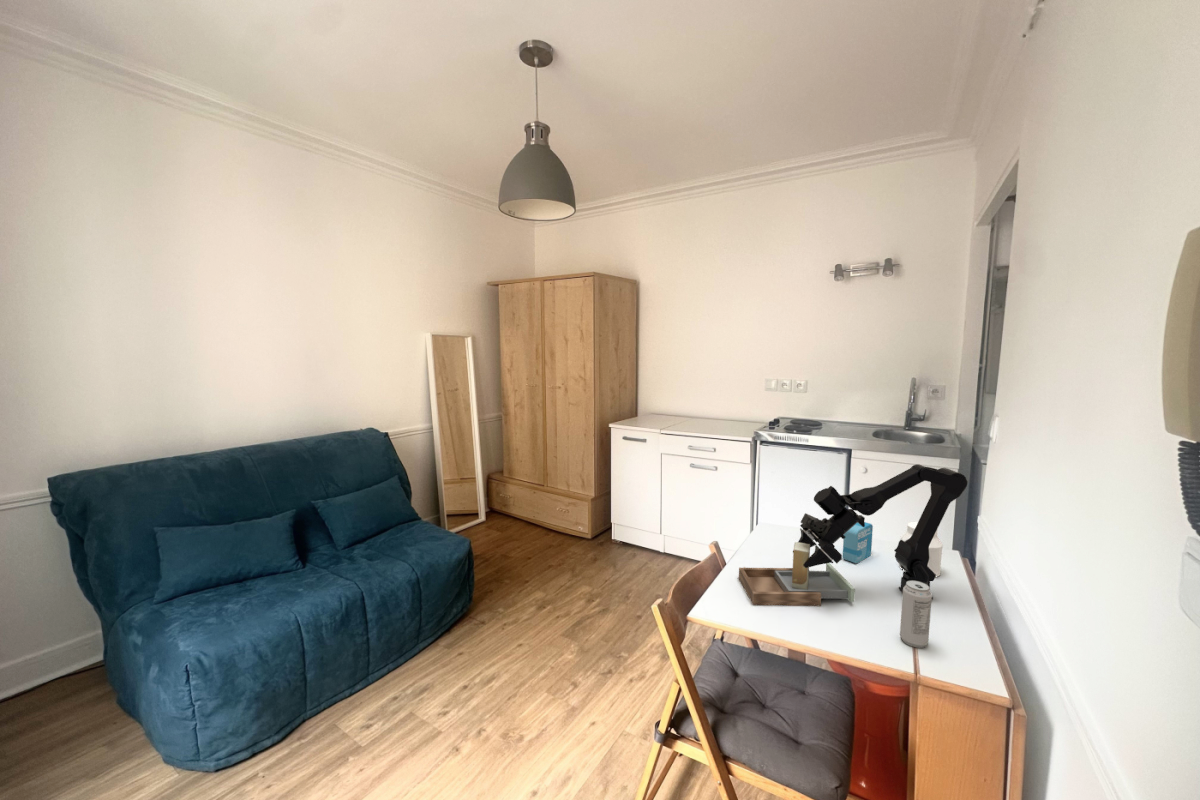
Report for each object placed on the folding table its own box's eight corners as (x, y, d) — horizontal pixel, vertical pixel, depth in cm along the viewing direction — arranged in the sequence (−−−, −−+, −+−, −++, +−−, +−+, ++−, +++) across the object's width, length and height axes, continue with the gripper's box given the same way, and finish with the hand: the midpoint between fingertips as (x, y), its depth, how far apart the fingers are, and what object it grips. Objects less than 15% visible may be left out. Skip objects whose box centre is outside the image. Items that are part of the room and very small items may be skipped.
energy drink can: (917, 634, 125) (921, 579, 123) (933, 648, 119) (938, 590, 117) (894, 635, 125) (897, 579, 123) (910, 649, 119) (914, 591, 117)
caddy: (799, 578, 155) (799, 568, 155) (820, 605, 139) (821, 594, 139) (738, 578, 156) (739, 567, 155) (753, 605, 139) (753, 593, 139)
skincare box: (793, 578, 151) (795, 541, 149) (808, 581, 149) (810, 543, 147) (791, 588, 145) (793, 548, 144) (807, 591, 143) (808, 551, 142)
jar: (945, 572, 159) (948, 528, 157) (933, 580, 153) (936, 535, 152) (906, 560, 168) (909, 518, 166) (893, 567, 163) (896, 524, 161)
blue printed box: (855, 564, 165) (857, 531, 163) (842, 560, 168) (843, 527, 167) (871, 555, 172) (873, 523, 171) (858, 551, 176) (860, 519, 174)
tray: (828, 574, 155) (829, 563, 154) (854, 601, 138) (854, 588, 138) (772, 574, 155) (772, 562, 155) (790, 601, 139) (791, 588, 139)
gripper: (807, 496, 153) (771, 529, 155) (832, 517, 135) (790, 554, 137) (832, 520, 153) (795, 553, 155) (860, 544, 135) (817, 581, 137)
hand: (798, 559), depth 146 cm, fingers open, 9 cm apart
